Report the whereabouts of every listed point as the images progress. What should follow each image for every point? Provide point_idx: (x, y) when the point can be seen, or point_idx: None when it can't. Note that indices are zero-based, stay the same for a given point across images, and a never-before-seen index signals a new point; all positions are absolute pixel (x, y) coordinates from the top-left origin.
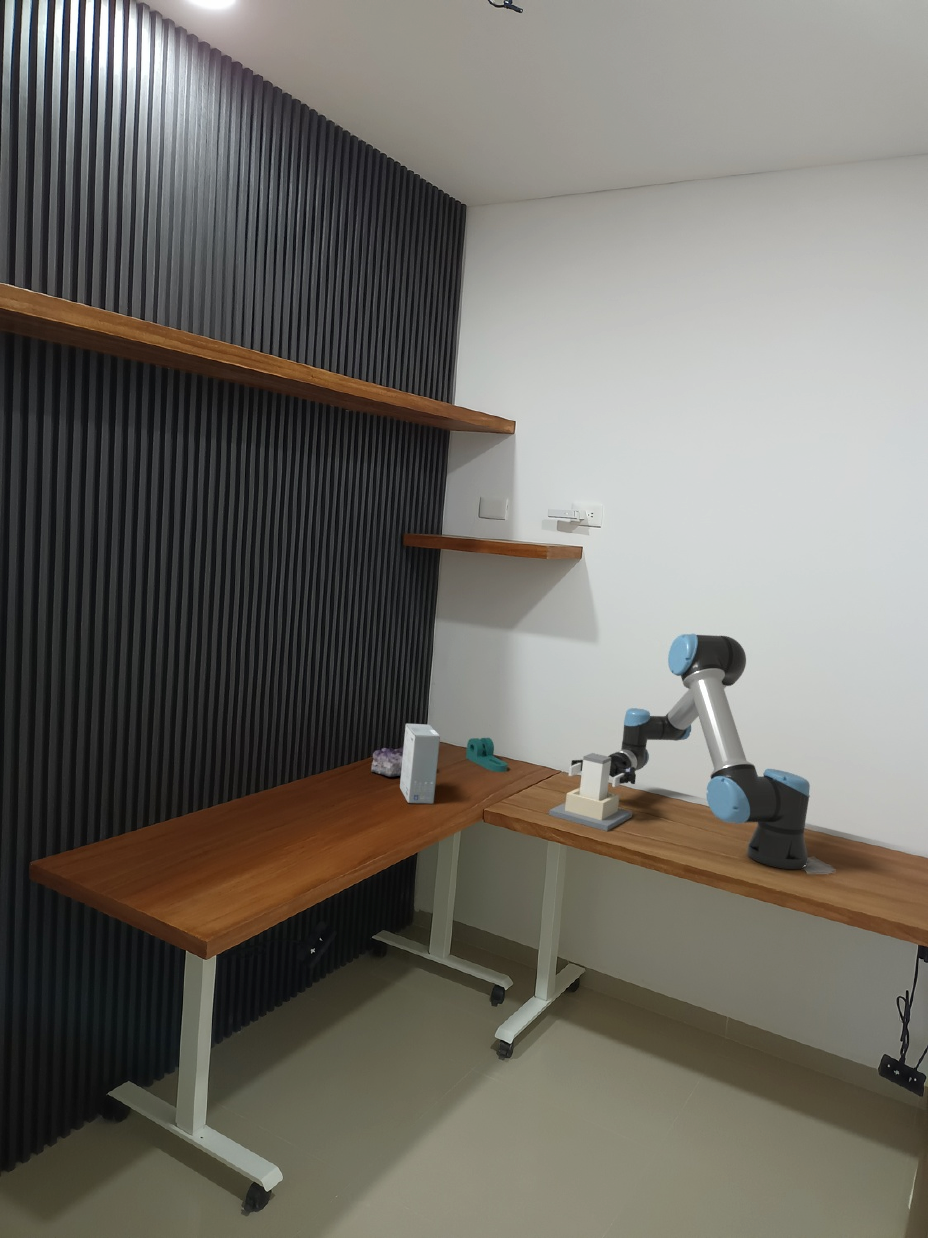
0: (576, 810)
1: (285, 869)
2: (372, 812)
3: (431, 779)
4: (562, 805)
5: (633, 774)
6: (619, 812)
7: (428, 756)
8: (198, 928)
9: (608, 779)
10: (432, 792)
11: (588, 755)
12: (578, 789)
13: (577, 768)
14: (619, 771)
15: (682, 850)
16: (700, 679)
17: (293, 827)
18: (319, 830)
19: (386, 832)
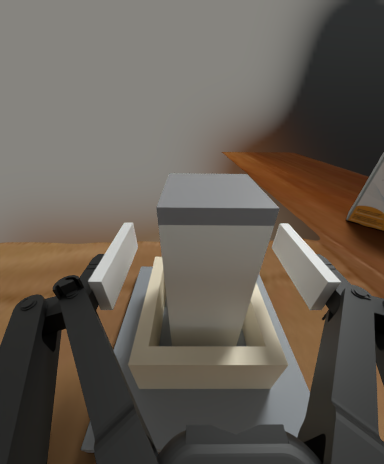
0: None
1: (252, 162)
2: (326, 193)
3: (362, 191)
4: (267, 307)
5: (25, 317)
6: (131, 383)
7: (380, 159)
8: (227, 152)
9: (166, 290)
10: (353, 207)
11: (247, 182)
12: (258, 303)
13: (299, 265)
14: (123, 377)
15: (2, 281)
16: None
17: (304, 173)
18: (295, 175)
19: (278, 183)
